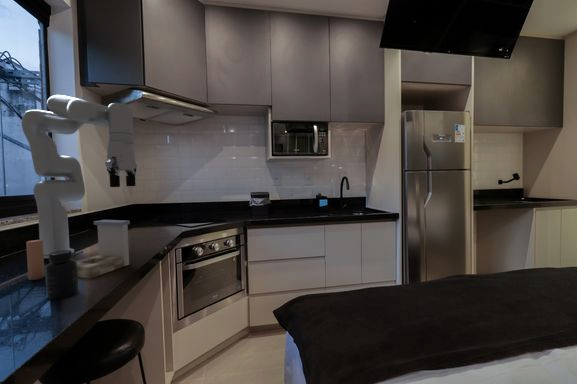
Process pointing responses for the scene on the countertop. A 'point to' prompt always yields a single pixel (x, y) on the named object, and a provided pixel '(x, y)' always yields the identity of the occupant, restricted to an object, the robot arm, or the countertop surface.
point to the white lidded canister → (113, 239)
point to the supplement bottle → (61, 275)
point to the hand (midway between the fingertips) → (123, 186)
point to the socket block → (97, 265)
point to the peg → (35, 259)
